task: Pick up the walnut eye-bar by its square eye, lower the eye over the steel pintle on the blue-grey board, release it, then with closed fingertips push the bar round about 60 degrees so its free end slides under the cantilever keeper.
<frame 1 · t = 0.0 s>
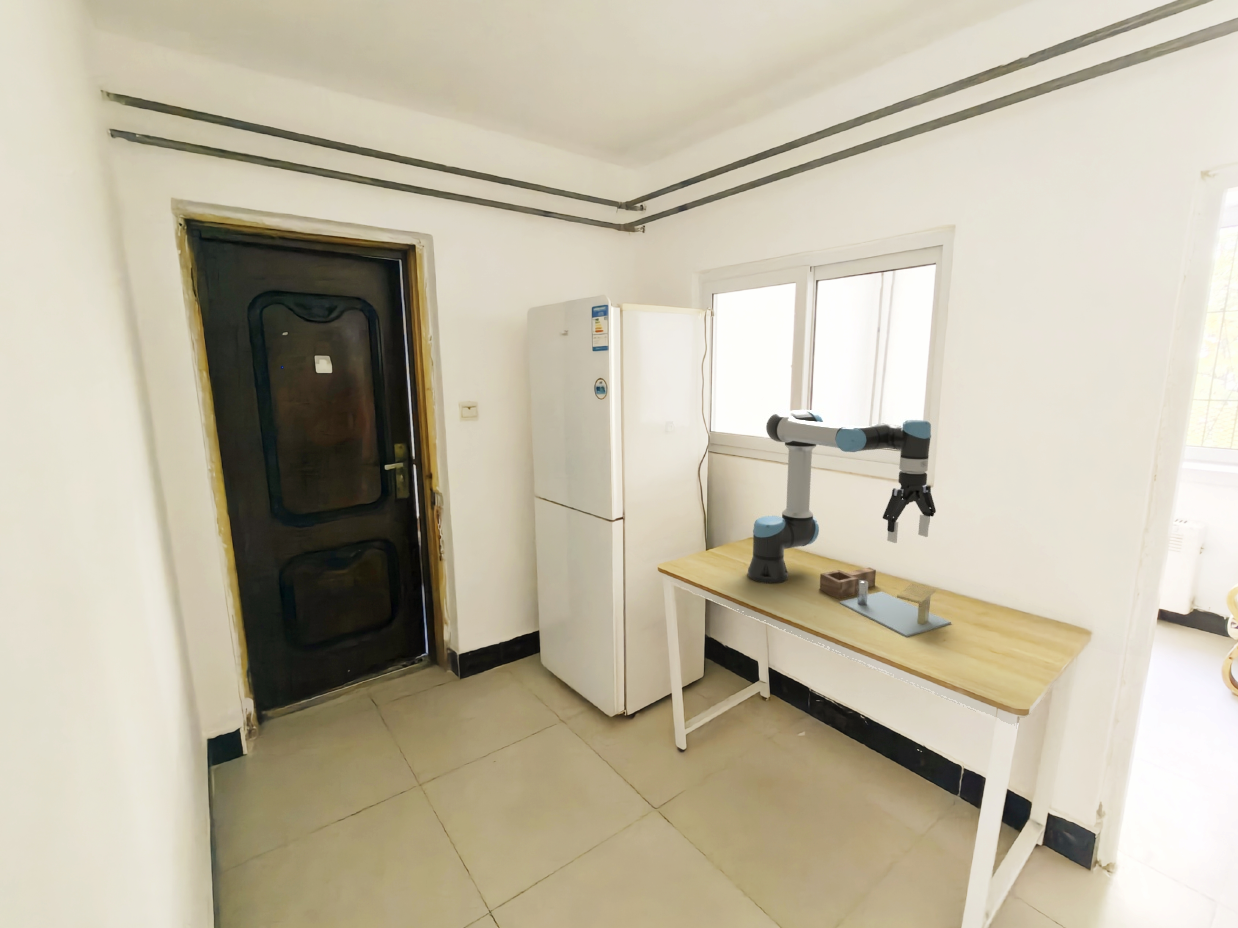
hand: (907, 538, 165), 28 cm above the table, fingers open, 13 cm apart
board: (892, 612, 176), on the table
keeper: (914, 621, 170), resting on board
pintle: (861, 605, 182), resting on board
link: (871, 583, 200), on the table
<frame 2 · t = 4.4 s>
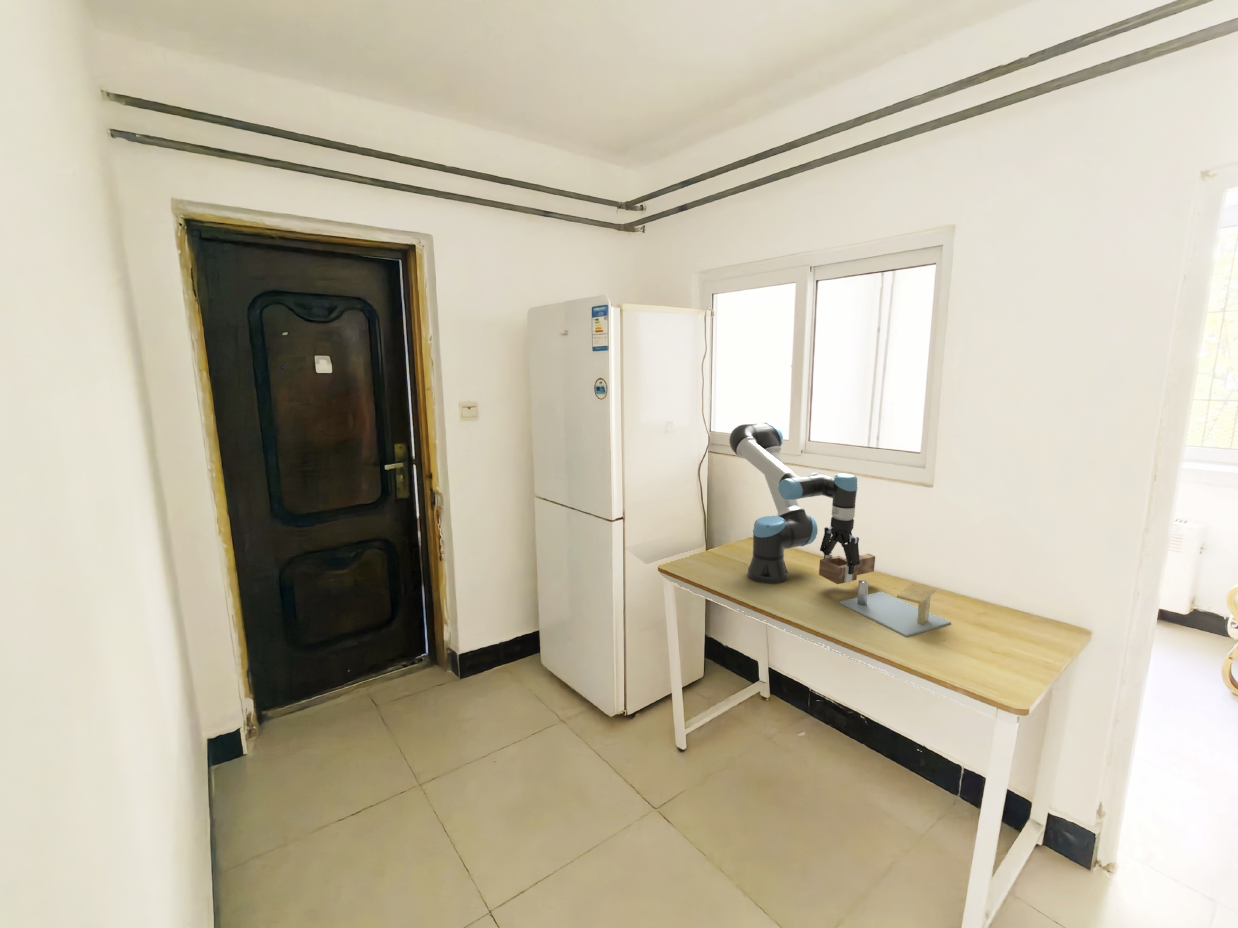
hand: (837, 576, 193), 6 cm above the table, fingers closed on link, 9 cm apart
link: (870, 569, 200), point 5 cm above the table, touching gripper
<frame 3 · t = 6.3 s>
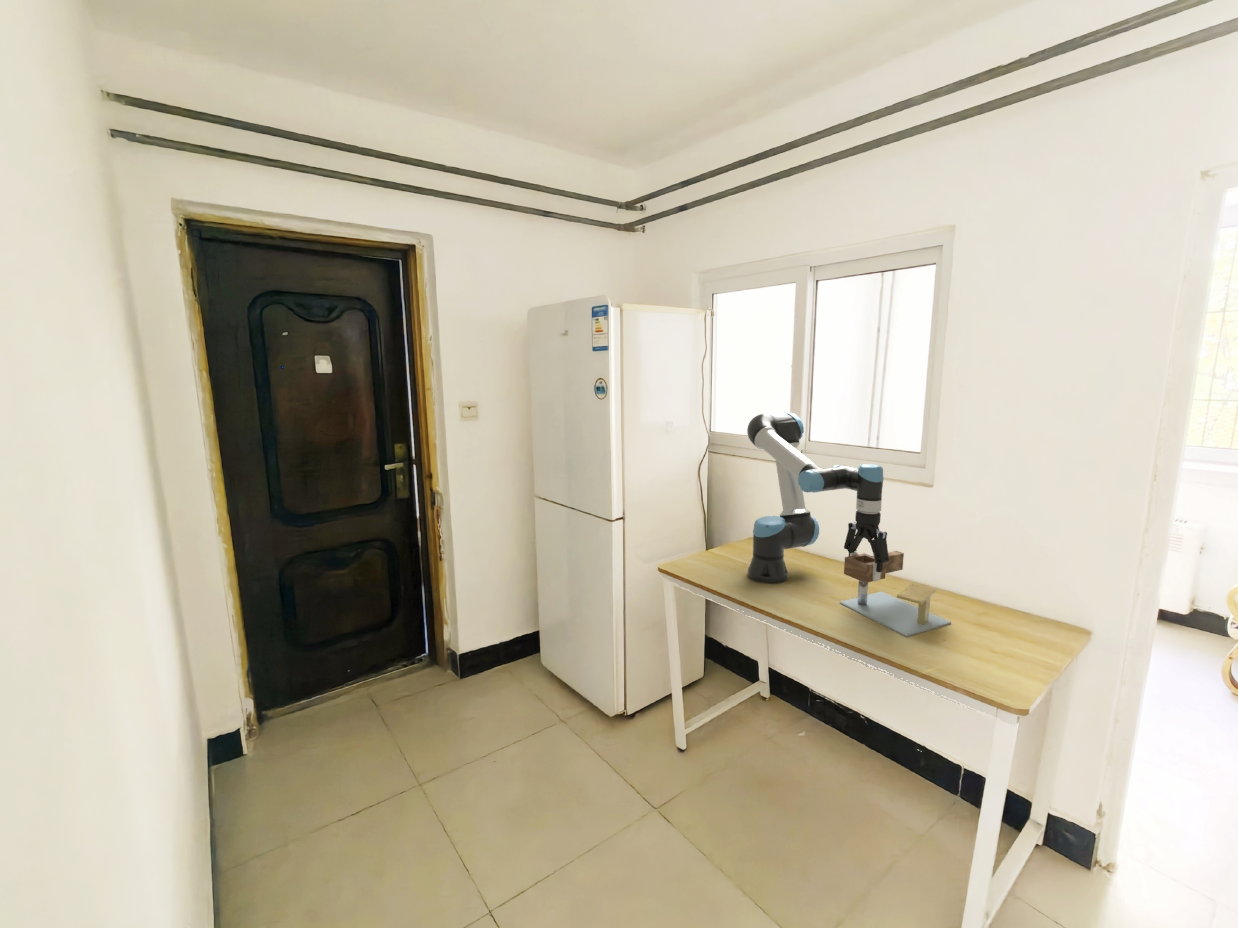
hand: (864, 575, 180), 11 cm above the table, fingers closed on link, 9 cm apart
link: (898, 568, 186), point 11 cm above the table, touching gripper
when the fingers open (1 cm above the table, at t = 8.3 s): link stays where it is, resting on board.
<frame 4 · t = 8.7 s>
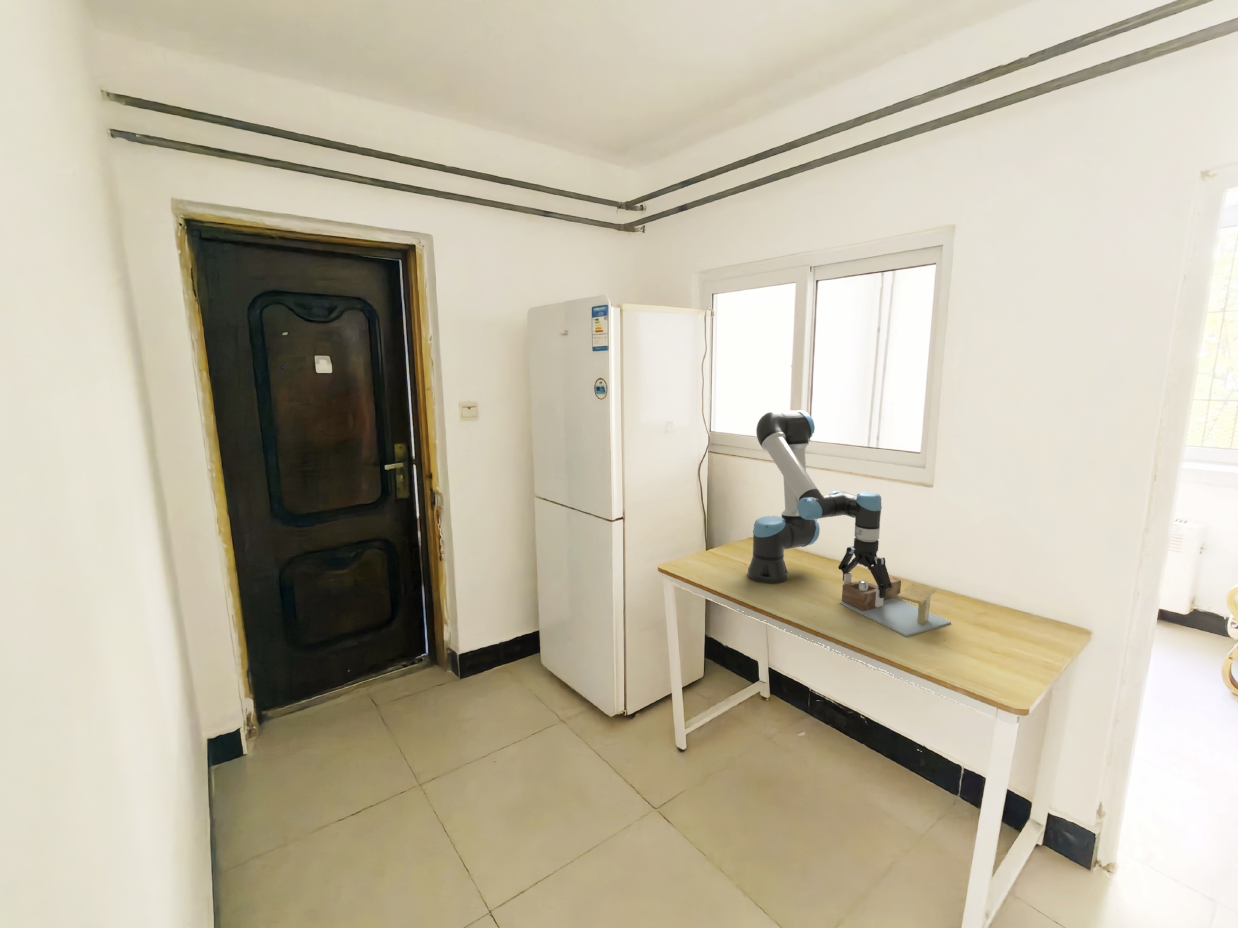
hand: (862, 598, 181), 3 cm above the table, fingers open, 13 cm apart
link: (896, 594, 188), point 1 cm above the table, touching board
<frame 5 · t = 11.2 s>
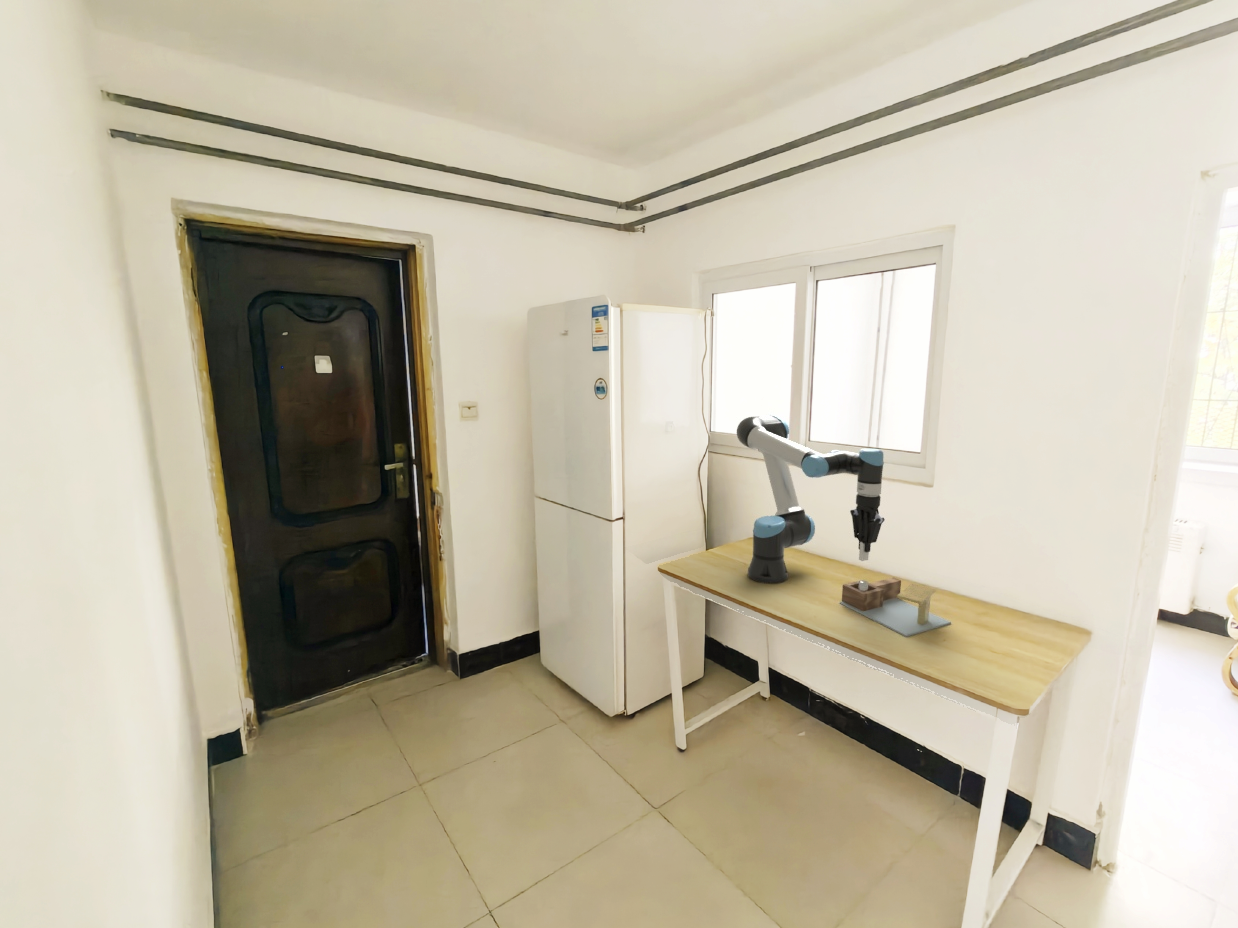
hand: (863, 559, 185), 14 cm above the table, fingers closed
nothing on the table moved.
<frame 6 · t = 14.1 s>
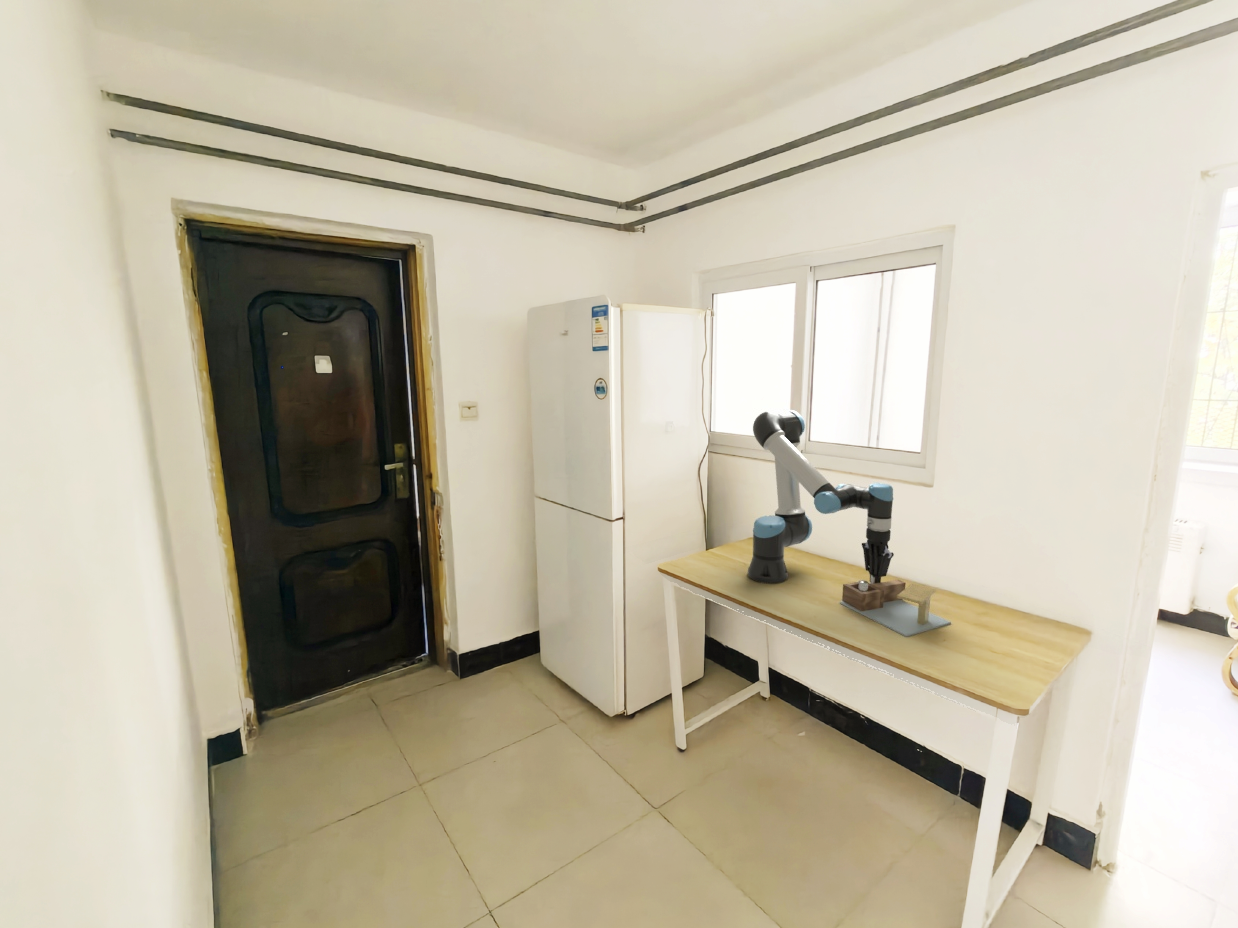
hand: (874, 592, 187), 2 cm above the table, fingers closed
link: (900, 597, 186), point 1 cm above the table, touching board, gripper
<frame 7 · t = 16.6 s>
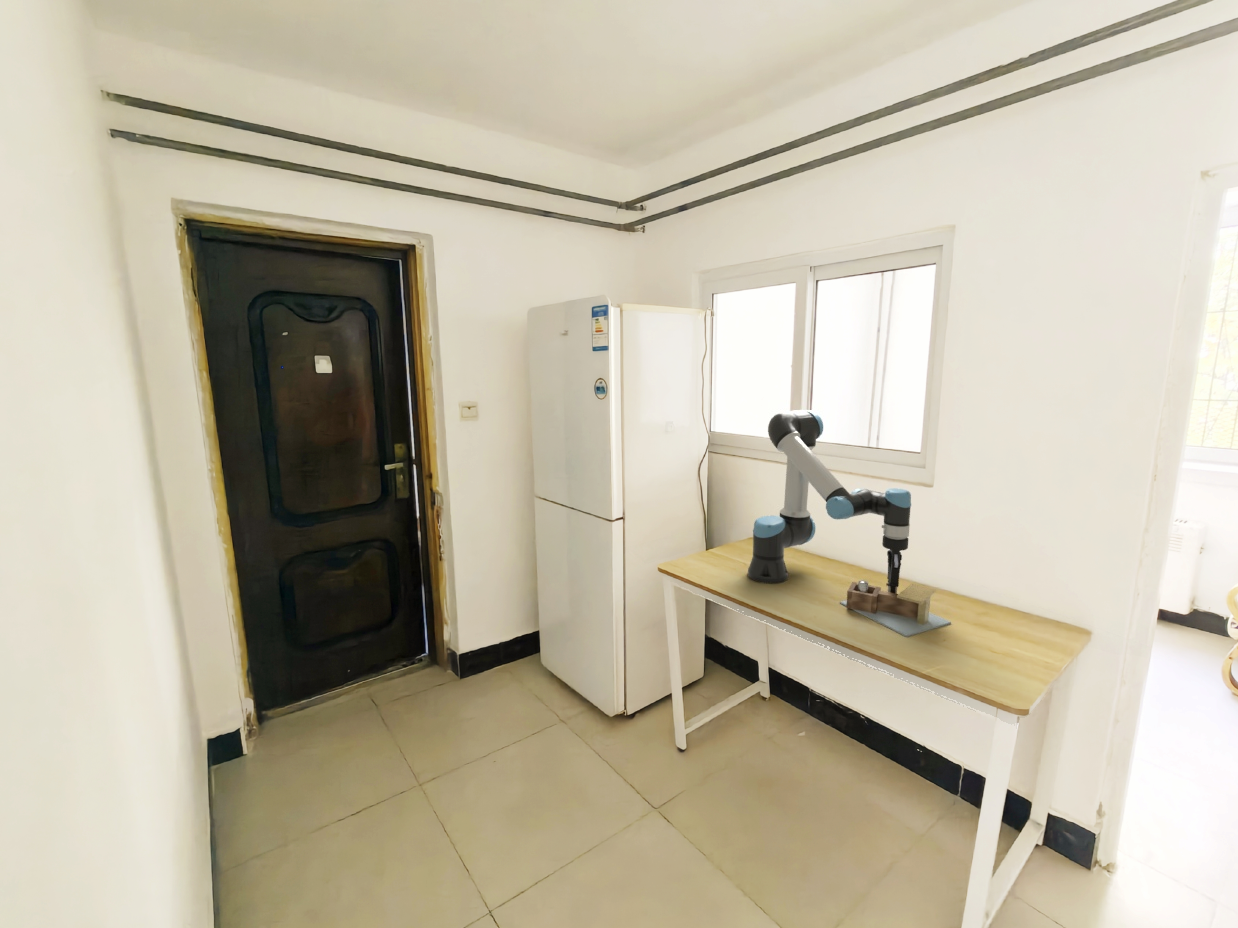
hand: (891, 603, 179), 2 cm above the table, fingers closed
link: (918, 617, 171), point 1 cm above the table, touching board, gripper
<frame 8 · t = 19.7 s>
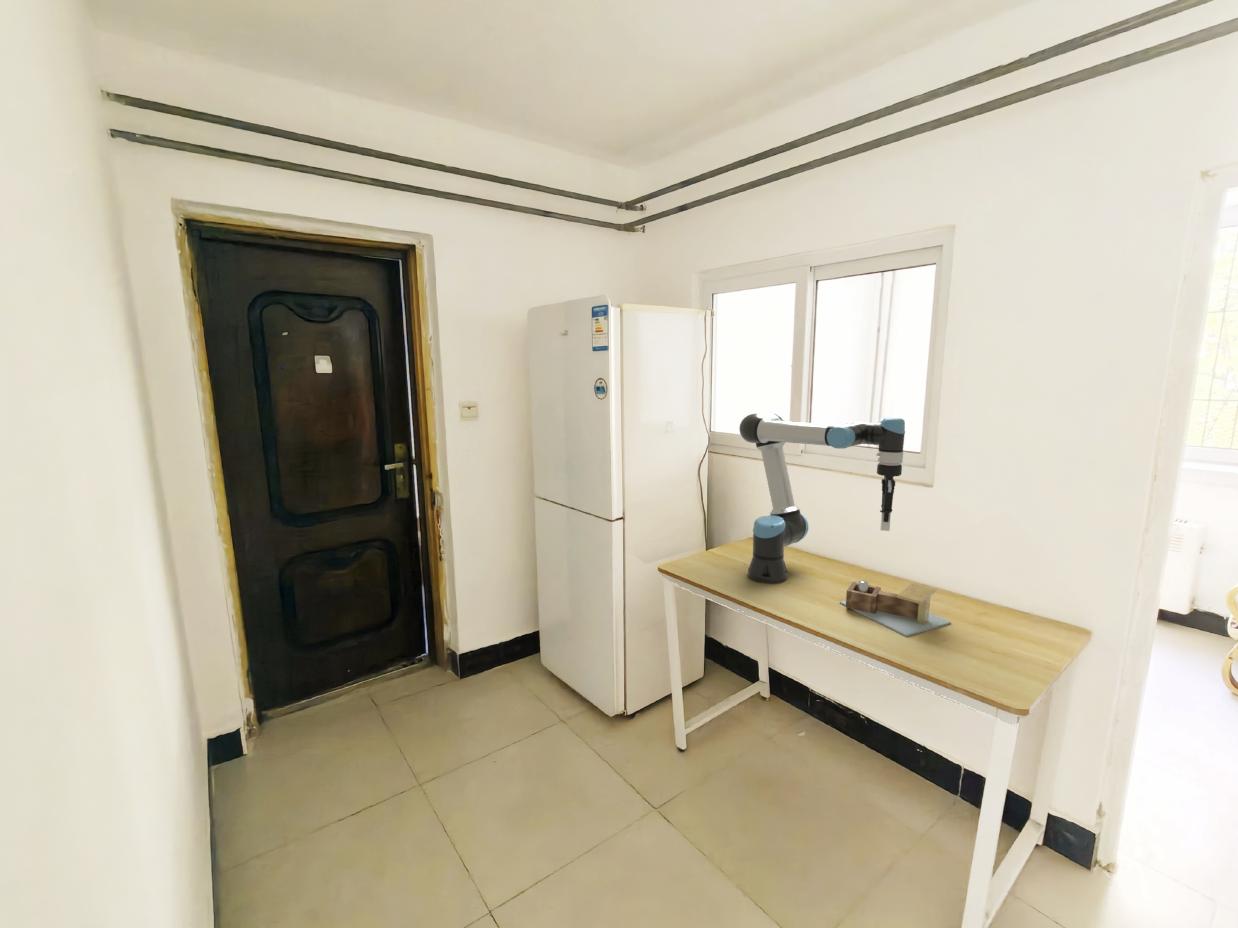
hand: (884, 529, 185), 24 cm above the table, fingers closed
link: (917, 617, 171), point 1 cm above the table, touching board
at the end: link inside the target area on the table beside the pintle (2.6 cm from its centre), point 0.6 cm above the table; link tilted 0°; the gripper is holding nothing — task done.
